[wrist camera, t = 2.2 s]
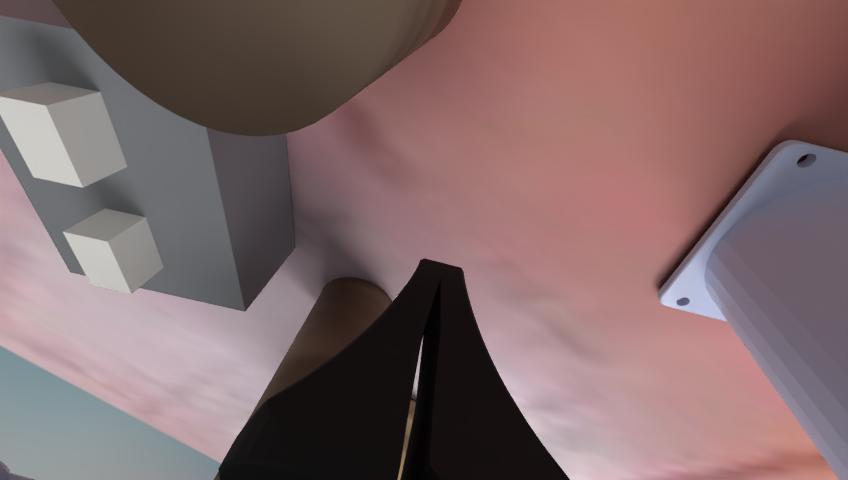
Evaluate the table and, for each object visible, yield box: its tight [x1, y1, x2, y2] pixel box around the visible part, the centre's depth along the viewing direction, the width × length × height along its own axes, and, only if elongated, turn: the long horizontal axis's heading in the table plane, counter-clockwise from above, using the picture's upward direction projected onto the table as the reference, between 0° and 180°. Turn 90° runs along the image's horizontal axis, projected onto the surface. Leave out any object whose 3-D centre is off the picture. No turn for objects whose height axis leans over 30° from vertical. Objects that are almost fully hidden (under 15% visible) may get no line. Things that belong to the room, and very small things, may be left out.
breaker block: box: [0, 0, 295, 311], centre depth 14 cm, size 8×10×7 cm
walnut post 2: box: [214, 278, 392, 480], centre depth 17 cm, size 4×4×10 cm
